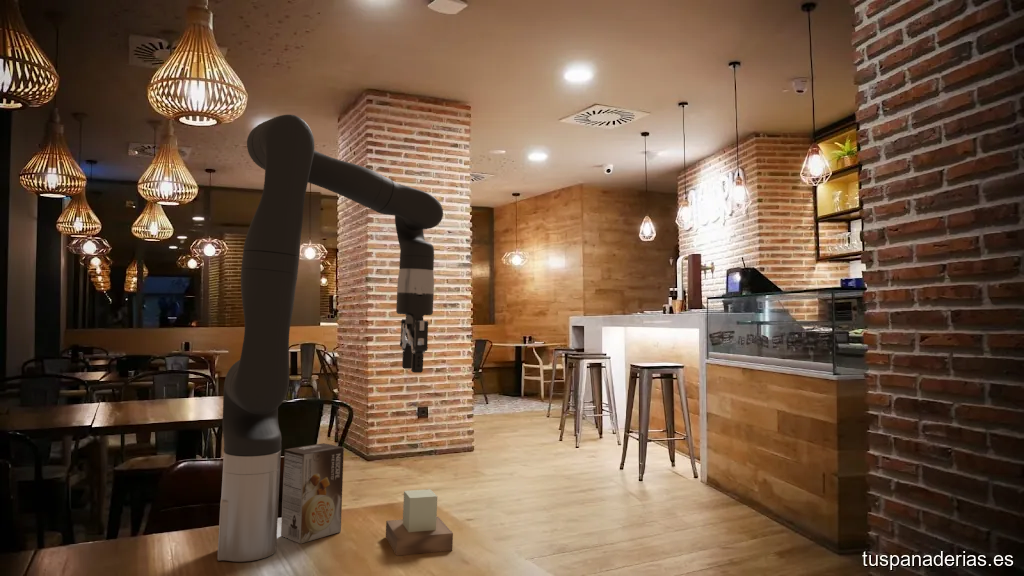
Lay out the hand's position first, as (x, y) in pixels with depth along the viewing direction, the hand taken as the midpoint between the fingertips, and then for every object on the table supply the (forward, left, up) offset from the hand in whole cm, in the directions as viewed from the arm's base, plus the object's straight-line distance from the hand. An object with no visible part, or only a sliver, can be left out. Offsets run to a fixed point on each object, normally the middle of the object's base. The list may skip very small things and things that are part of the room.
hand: (412, 370), depth 137 cm
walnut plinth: (-1, -15, -30) cm, 34 cm away
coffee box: (-19, -5, -30) cm, 36 cm away
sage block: (-1, -15, -27) cm, 31 cm away
